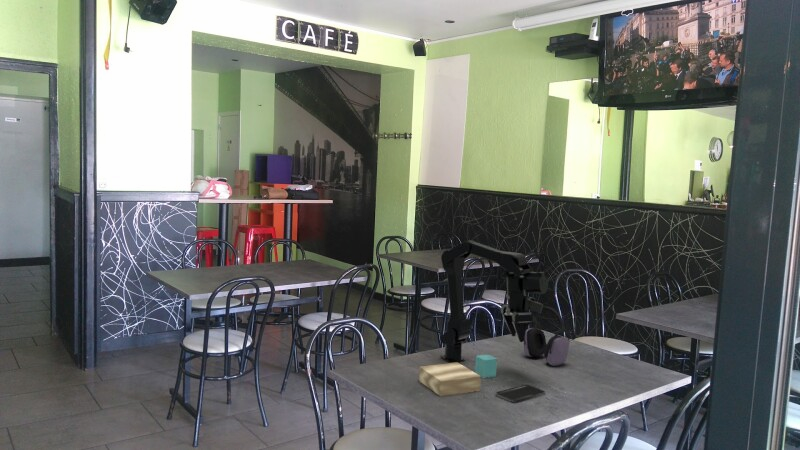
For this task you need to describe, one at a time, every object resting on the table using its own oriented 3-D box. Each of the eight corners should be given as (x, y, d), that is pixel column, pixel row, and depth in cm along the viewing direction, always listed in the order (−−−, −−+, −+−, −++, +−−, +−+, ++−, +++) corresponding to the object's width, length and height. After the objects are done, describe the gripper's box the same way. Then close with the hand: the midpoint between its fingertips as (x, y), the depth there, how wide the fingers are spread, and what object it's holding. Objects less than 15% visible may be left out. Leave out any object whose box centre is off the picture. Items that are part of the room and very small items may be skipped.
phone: (494, 392, 175) (527, 384, 184) (493, 396, 175) (527, 387, 184) (513, 401, 168) (547, 391, 177) (513, 405, 168) (546, 395, 177)
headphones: (536, 352, 221) (539, 301, 220) (571, 365, 207) (575, 310, 206) (518, 356, 216) (522, 303, 214) (553, 369, 202) (557, 313, 200)
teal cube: (474, 373, 194) (475, 355, 194) (487, 371, 196) (488, 354, 196) (483, 378, 190) (484, 360, 189) (495, 376, 192) (496, 358, 192)
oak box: (418, 381, 185) (419, 366, 184) (456, 377, 191) (457, 362, 190) (440, 397, 172) (441, 381, 172) (480, 392, 178) (481, 376, 178)
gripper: (549, 294, 182) (550, 343, 182) (531, 287, 200) (532, 332, 200) (514, 295, 181) (516, 345, 181) (499, 288, 199) (501, 333, 200)
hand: (517, 339), depth 191 cm, fingers open, 9 cm apart
